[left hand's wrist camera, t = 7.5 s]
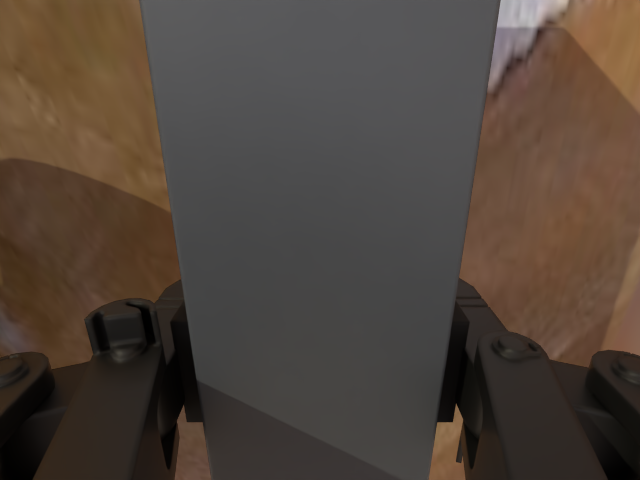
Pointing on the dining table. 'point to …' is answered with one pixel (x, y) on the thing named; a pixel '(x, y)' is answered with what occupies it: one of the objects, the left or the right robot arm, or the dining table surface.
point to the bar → (319, 220)
